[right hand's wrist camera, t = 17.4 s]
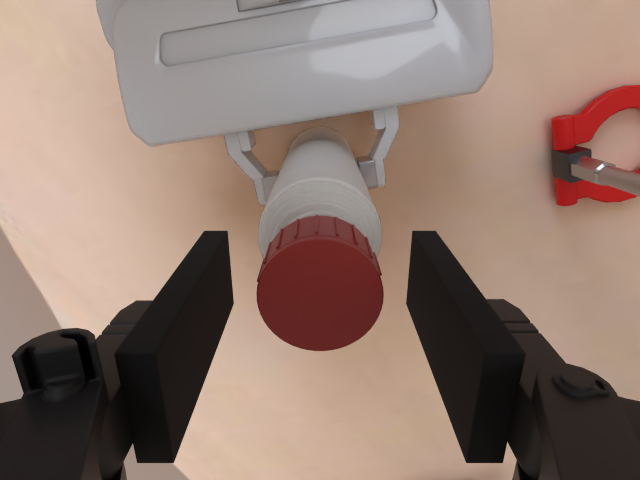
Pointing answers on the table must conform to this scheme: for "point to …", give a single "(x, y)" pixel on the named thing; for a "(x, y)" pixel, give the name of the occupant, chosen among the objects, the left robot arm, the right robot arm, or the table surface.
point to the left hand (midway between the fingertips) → (323, 194)
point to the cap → (320, 284)
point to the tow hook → (576, 163)
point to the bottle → (320, 188)
